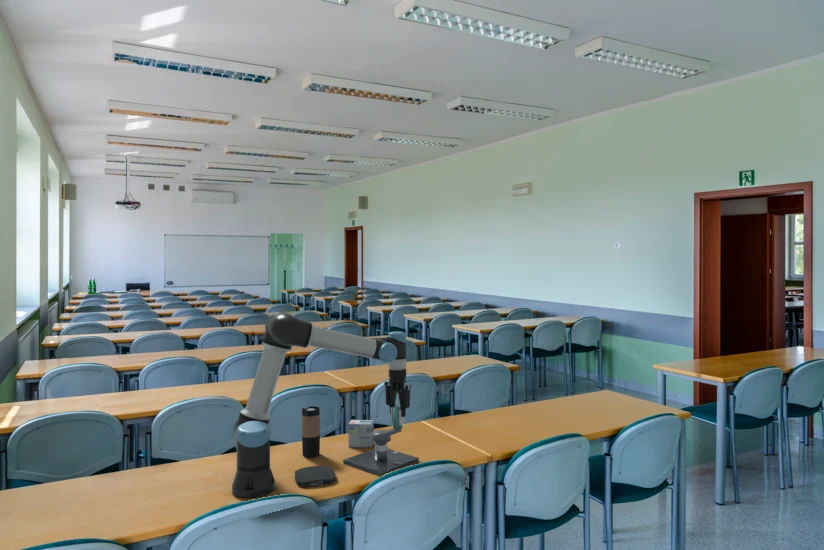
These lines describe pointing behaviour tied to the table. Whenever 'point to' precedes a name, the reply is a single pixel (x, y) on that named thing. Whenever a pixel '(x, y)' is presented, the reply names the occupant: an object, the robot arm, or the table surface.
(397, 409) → the crank handle
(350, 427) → the light bulb box
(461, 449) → the table surface
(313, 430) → the travel mug
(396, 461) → the post base
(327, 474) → the media streaming box
